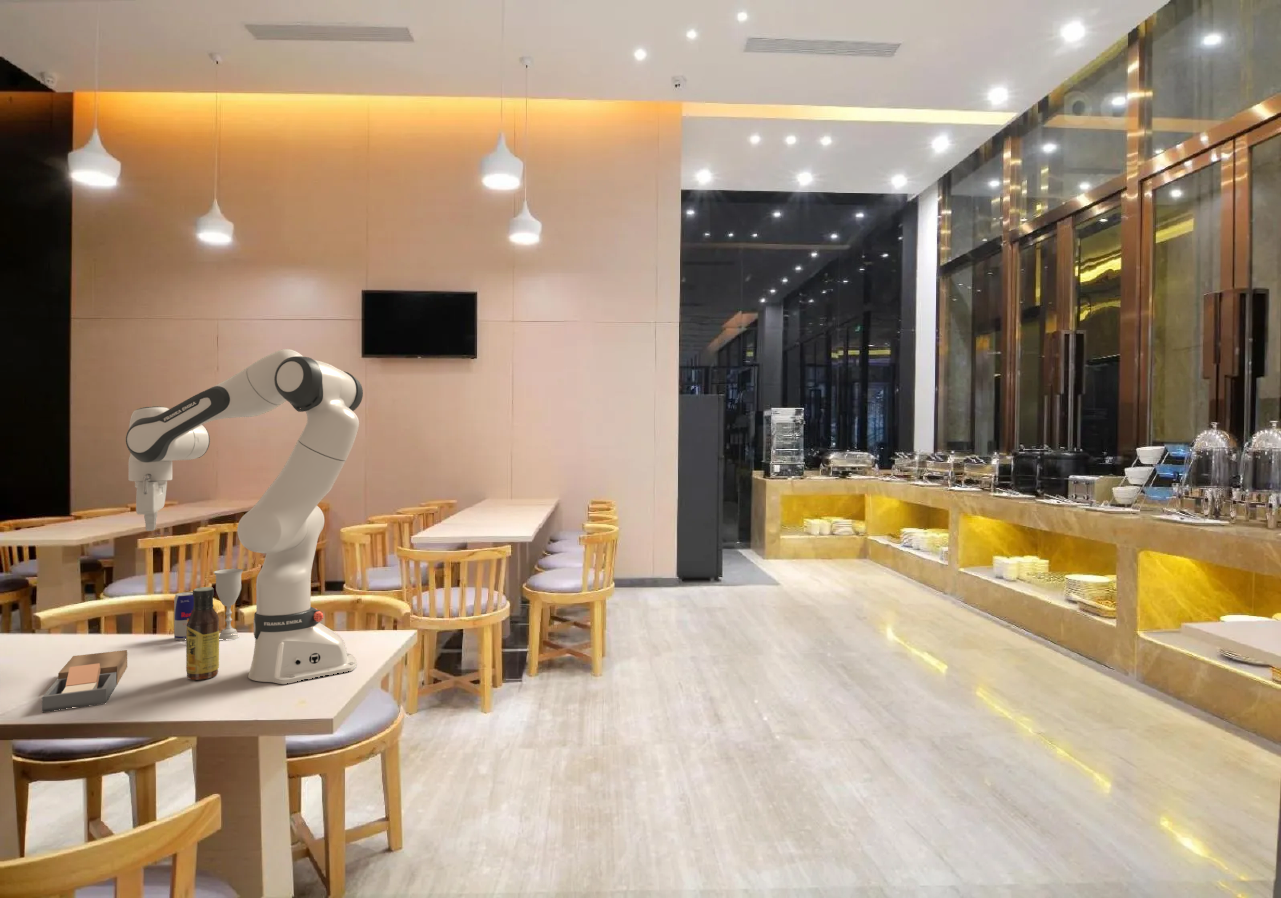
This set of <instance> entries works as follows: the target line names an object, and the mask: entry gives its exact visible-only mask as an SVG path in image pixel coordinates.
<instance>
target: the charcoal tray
mask: <svg viewBox="0 0 1281 898" xmlns="http://www.w3.org/2000/svg"><path fill="white" fill-rule="evenodd" d="M66 682H67V678H64V679H58V678H57V679H56V680H55V682H53V684H52V685H51V686H50V687H49V688H48V689H47V691H46V692H45V693H44V694H43V695H42V697H41V712H42V711H50V712H55V711H54V710H58V711H62V710H61V709H65V710H67V709H66V708H72V707H79V708H85V707H84V706H86V707H90V706H89V705H93V706H98V705H97V704H101V705H106V704H107V703H108V701H109V699H110V698H111V697H112V694H113V692H114V691H115V689H116V687H117V685H116V672H113V673H105V674H100V676H99V681H98V687H97V689H92V690H84V691H77V692H69V693H62V692H63V690H64V689H65V687H66ZM105 703H106V704H105ZM59 709H60V710H59ZM72 709H73V708H72Z"/></svg>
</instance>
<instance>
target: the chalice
mask: <svg viewBox="0 0 1281 898" xmlns="http://www.w3.org/2000/svg"><path fill="white" fill-rule="evenodd" d="M243 572H244V569H240V568H228V569H220V570H219V569H218V570H215V571H213V574H214V575H215V591H216V594H217V596H218V598H219V601H220V602H221V604H222V605H223V606H225V607H226V611H225V613H224V614H225V616H226V618H225V620H224V621H225V622H226V627H225V628H224V629H222V630H221V631H220V633H219V639H223V640H224V641H227V640H226V639H233V640H236V639H239V638H240V636H239V637H238V635H239V633H238V631H237V629H236V627H235V628H234V627H233V626H232V625H231V622H232V621H233V618H232V617H231V616H232V614H233V612H232V609H231V608H232V606H233V605H234V604H235V603H236V601H237V599H238V597H239V596H240V594H241V591H242V573H243ZM231 634H232V635H231ZM233 634H238V635H233ZM223 640H222V641H223Z"/></svg>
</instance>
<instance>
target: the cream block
mask: <svg viewBox="0 0 1281 898" xmlns="http://www.w3.org/2000/svg"><path fill="white" fill-rule="evenodd" d="M92 689H97V682H95V683H88V684H80V685H73V686H66V687H65V689H64V690H63V692H62V693H69V692H77V691H84V690H92Z"/></svg>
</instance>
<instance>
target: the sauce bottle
mask: <svg viewBox="0 0 1281 898" xmlns="http://www.w3.org/2000/svg"><path fill="white" fill-rule="evenodd" d="M192 592H193V597H194V600H193V601H194V606H193V610H192V613H191V615H190V618H189V621H188V623H187V639H186V640H185V641H186V645H185V646H186V647H185V648H186V649H185V651H186V655H185V656H186V657H185V658H186V659H185V660H186V661H185V665H186V666H185V669H186V670H185V671H186V677H187V679H188V680H192V681H203V680H208V679H212V678H215V677H216V676H217V675H219V667H220V640H219V636H220V627H219V624H220V623H219V621H220V618H219V615H218V613H217V611H215V609H214V596H215V595H214V594H215V588H213V587H212V586H204V587H197V588H194V589H193V590H192Z"/></svg>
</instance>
